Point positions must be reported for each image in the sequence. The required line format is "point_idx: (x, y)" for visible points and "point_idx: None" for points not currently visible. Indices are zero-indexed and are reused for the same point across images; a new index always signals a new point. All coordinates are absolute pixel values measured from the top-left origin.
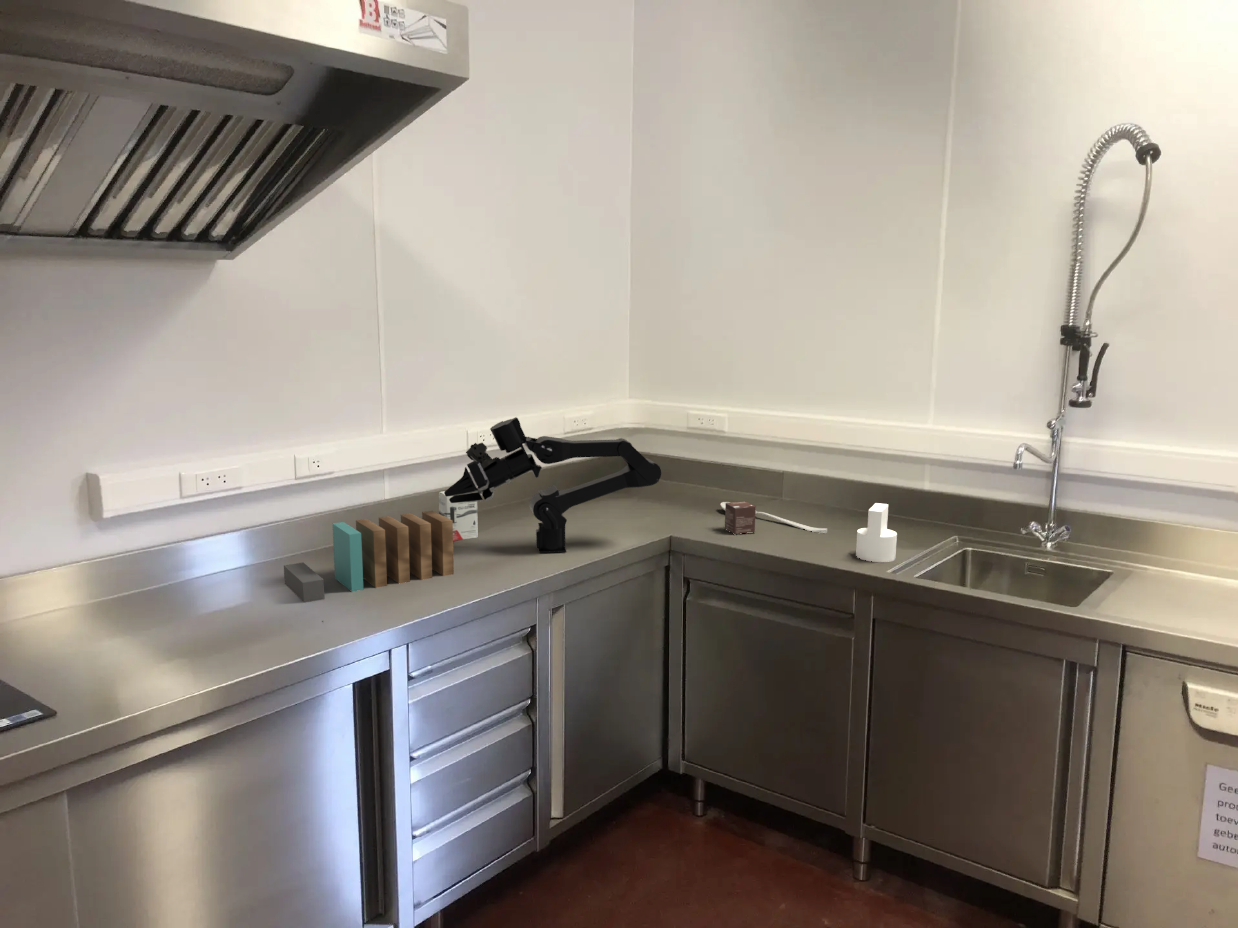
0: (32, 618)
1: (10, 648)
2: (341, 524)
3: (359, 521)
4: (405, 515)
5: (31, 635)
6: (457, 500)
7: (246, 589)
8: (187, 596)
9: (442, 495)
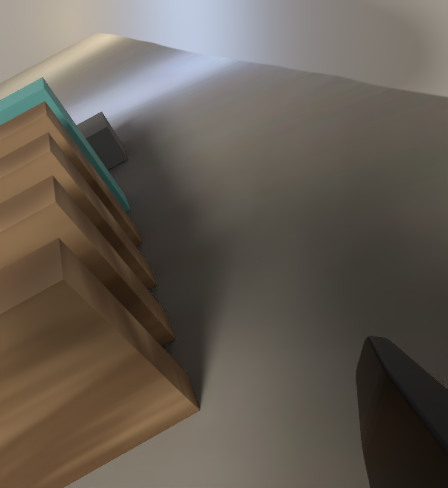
0: (99, 35)
1: (28, 68)
2: (19, 95)
3: (26, 113)
4: (28, 195)
5: (52, 59)
6: (368, 438)
7: (114, 116)
8: (113, 82)
9: None
